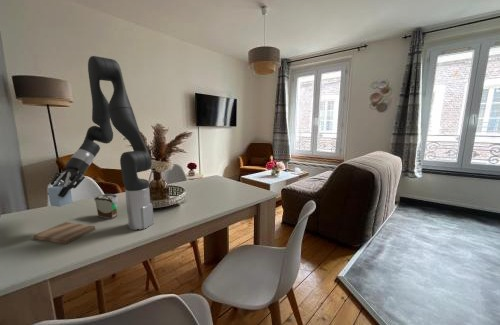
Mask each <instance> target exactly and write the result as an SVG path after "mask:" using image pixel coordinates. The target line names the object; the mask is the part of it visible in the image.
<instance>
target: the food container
mask: <svg viewBox="0 0 500 325" xmlns="http://www.w3.org/2000/svg"><path fill="white" fill-rule="evenodd" d="M93 201H94V202H95V206H96V212H97V216H98V217H101V218H105V219H110V220H113V219H115V218H117V216H118V201H119V198H118V195H117V194H113V193H104V194H99V195H95V196H94V198H93Z"/></svg>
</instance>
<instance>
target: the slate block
mask: <svg viewBox="0 0 500 325" xmlns="http://www.w3.org/2000/svg"><path fill="white" fill-rule="evenodd" d="M63 187H65V185H59V184H58V186H54V187H53V186H51V187H48V188H47V191H48V192H47V195H48V194H49V195H48V197H49V198H48V199H49V204H50V207H58V208H59V207H63V206H66V205H70V204H72V203H73V196H72V189H70V190H69V191H68V192H67V194H66V195H65V196H64V197H60V196H58V194H59V192H60V191H61V190H62V188H63Z"/></svg>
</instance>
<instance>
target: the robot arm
mask: <svg viewBox="0 0 500 325" xmlns="http://www.w3.org/2000/svg"><path fill="white" fill-rule="evenodd" d="M87 73H88V74H87V75H88V79H89V80H88V81H89V88H90V96H91V103H92V105H91V106H92V107H91V108H92V109H91V119H92V122H93V123H94V124H95V125H91V126H90V127H89V128H87V130H86V133H85V137H84V140H83V141H82V142H83V143H82V144H81V145H80V146H79V148H78V149H76V151H74V153H73V154H72V155H71V157H70V158H69V160H67V162H66V164H64V168H65V170H63V171H62V172H61V173H60V172H56V173H54V174H55V175H53V178H52V180H51V181H50V183H49V184H50V185H51V187H54V186H58V185H65V187H63V188H62V190H61V191H60V192H59V194H58V196H60V197H64V196H65V195H66V194H67V192H68V191H69V190H70V189H71V190H72V189H76V188H77V187H78V186H79V185H80V184H81V183H82V182H83V181H84V179H86V176H85V175H84V174H85V173H86V172H87V170H89V167H90V166H91V164H92V163H93V162H94V159H95V158H96V156H97V155H98V153H99V152H100V150H101V146H100V144H98V143H102V144H110V143H111V142H112V141H113V138H114V131H113V129H112V125H113V127H114V128H115V130H116V131H117V132H118V133H120V134H121V135H122V136H123V137H124V138H125V139H126V140H127V141H128V142H129V144H130V146H131V148H132V149H133V151H131V150H130V151H125V152H123V153H122V154H121V156H120V158H119V164H120V171H121V176H122V182H123V184H124V192H125V202H126V212H127V213H126V214H127V222H128V228H129V229H130V230H132V231H133V230H134V231H135V230H136V231H138V230H137V229H139V230H145V228H146V229H148V228H149V227H150V226H152V225H153V224H154V222H155V220H154V207H153V203H152V202H151V195H150V183H149V182H150V181H149V180H147V179H145V178H139V176H138V173H141V172H142V173H143V172H147V171H149V170H151V167H152V164H153V163H152V162H153V161H152V157H151V155H150V152H149V149H148V147H147V145H146V143H145V141H144V139H143V137H142V135H141V134H142V133H141V131H140V129H139V125H138V123H137V118H136V116H135V113H134V110H133V108H132V104H131V103H130V99H129V96H128V93H127V90H126V86H125V82H124V77H123V72H122V70H121V67H120V64H119V62H118V61H116V60H115V59H112V58H108V57H103V56H102V57H101V56H98V55H97V56H96V55H91V56H90V57H89V58H88V61H87ZM100 81H107V82H111V84H112V87H113V93H112V95H111V98H110V100H109V101H108V100H107V97H106V96H105V95H104V93H103V91H102V89H101V84H100V83H101V82H100ZM94 141H95V142H94ZM96 142H98V143H96ZM47 195H48V196H49V194H48V193H47ZM148 226H149V227H148Z"/></svg>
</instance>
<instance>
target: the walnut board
mask: <svg viewBox="0 0 500 325" xmlns="http://www.w3.org/2000/svg"><path fill="white" fill-rule="evenodd" d="M94 230H96V226H95V225H88V224H82V223H75V222H67V221H65V222H63V223H59V224H57V225H55V226H52V227H50V228H48V229H45V230H43V231H41V232H38V233H35V234H34V235H33V239H34V240H40V241H46V242H50V243H51V242H53V243H57V244H64V245H67V244H68V243H71V242H73V241H75V240H77V239H79V238H81V237H83V236H84V235H87V234H90V232H93V231H94Z"/></svg>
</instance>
